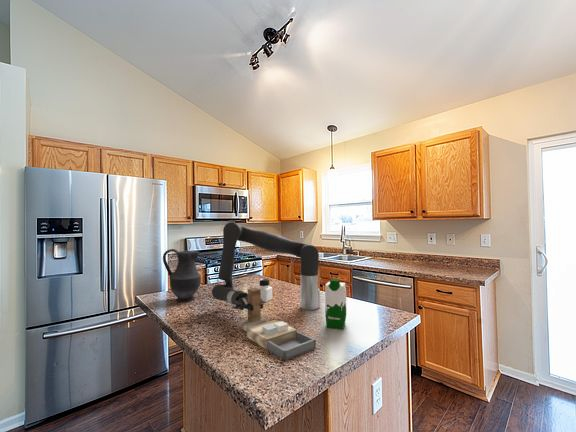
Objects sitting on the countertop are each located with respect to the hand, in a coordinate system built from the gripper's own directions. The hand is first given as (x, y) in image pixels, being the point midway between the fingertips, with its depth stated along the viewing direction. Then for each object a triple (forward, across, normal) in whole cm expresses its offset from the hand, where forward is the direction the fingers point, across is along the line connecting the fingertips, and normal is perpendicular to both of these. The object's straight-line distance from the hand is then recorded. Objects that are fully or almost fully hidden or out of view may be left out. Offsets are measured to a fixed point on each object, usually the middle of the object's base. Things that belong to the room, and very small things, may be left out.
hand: (257, 307), depth 112 cm
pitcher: (-65, -10, +10) cm, 67 cm away
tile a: (+13, +2, +6) cm, 14 cm away
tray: (+22, 0, +9) cm, 24 cm away
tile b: (+13, -3, +6) cm, 14 cm away
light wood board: (+10, 0, +9) cm, 14 cm away
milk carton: (+18, +29, +10) cm, 35 cm away
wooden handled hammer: (-3, 0, +9) cm, 10 cm away
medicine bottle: (-36, +27, +10) cm, 46 cm away
